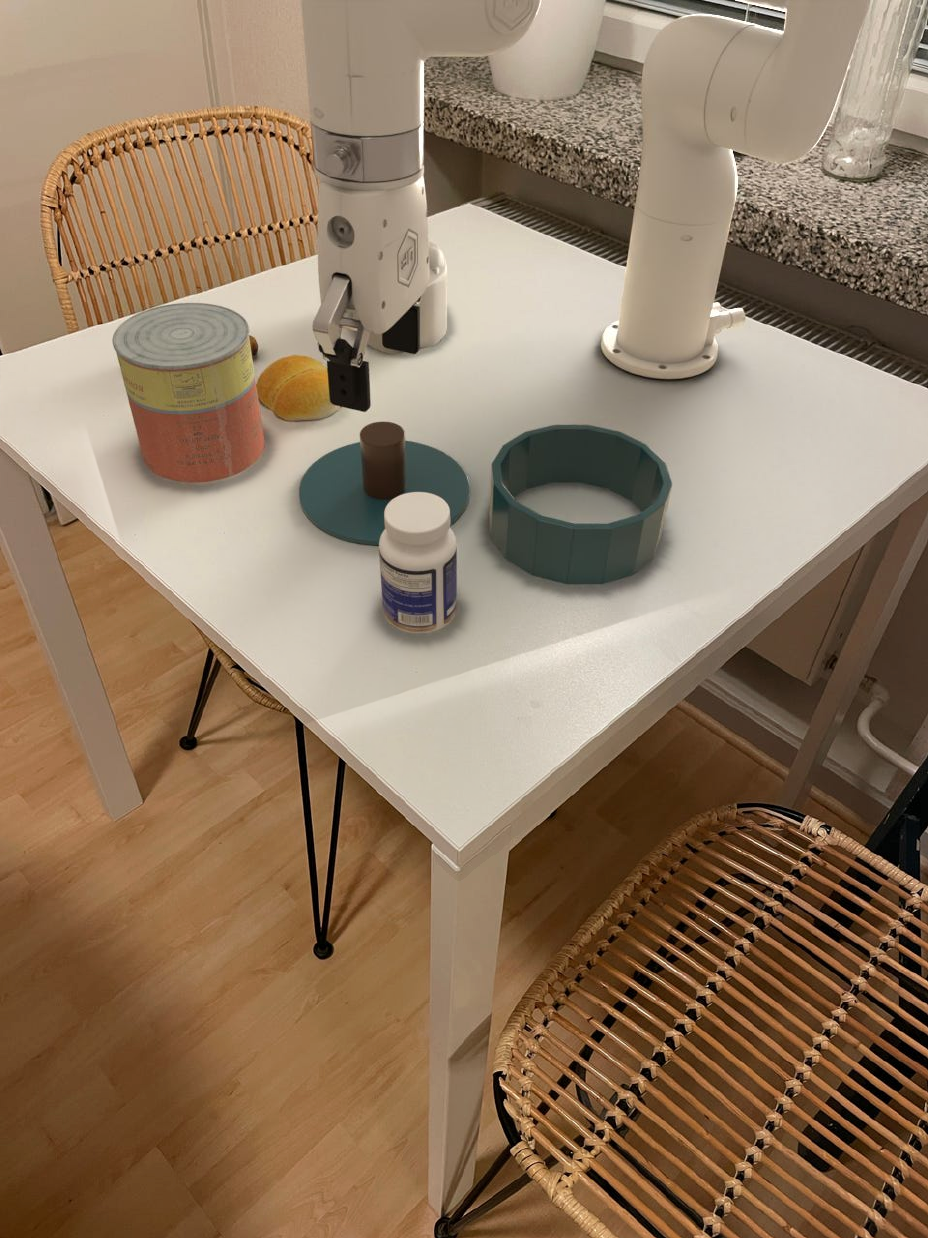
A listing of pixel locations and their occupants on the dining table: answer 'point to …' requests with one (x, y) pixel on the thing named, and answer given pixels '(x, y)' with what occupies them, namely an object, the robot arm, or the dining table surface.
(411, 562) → the pill bottle
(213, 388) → the canned food
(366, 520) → the lid
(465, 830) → the dining table surface
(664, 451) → the dining table surface
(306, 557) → the dining table surface
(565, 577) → the pot
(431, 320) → the lumpy-topped squat cylinder
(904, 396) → the dining table surface
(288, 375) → the bread roll
